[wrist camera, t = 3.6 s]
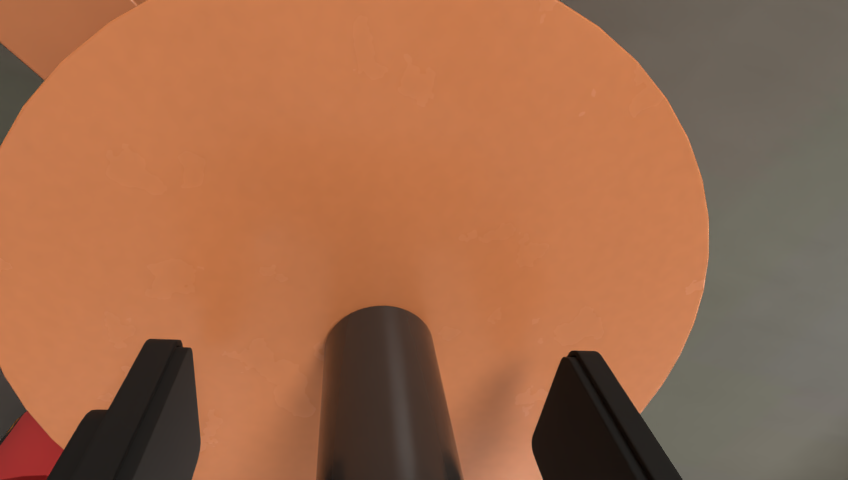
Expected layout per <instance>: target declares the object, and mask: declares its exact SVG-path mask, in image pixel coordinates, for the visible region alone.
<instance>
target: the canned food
mask: <svg viewBox="0 0 848 480" xmlns="http://www.w3.org/2000/svg"><path fill="white" fill-rule="evenodd" d="M62 452H63V449H62V448H61V447H60V446H59V445H58V444H57V443H56V442H54V441H53V440H52V439H51V438H50V437H49V435H48V434H47V433H46V432H45V431H44V430H43V428H42V427H41V426H40V425H39V424H38V423H37V421H36V420H35V419H34V418H33V417H32V416H31V415H30V413H29V412H28V411H27V412H25V413H24V414H23V415H22V416H21V417H19V418H18V419H17V420H16V421H15V423H14V424H13V425H12V427H11V428H10V429H9V431H8V432H7V433H6V435H5V436H4V437H3V439H2V440H1V441H0V480H46V479H47V477H48V476H49V474H50V472H51V471H52V469H53V467H54V466H55V464H56V462H57V460H58V459H59V457H60V455H61V454H62Z"/></svg>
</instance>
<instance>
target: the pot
mask: <svg viewBox="0 0 848 480" xmlns="http://www.w3.org/2000/svg"><path fill="white" fill-rule="evenodd" d="M144 1H146V0H0V43H1V44H3V45H4V46H5V47H6V48H7V49H8V50H10V51H11V52H12V53H13V54H14V55H15V56H17V57H18V58H19V59H20V60H21V61H22V62H23V63H25V64H26V65H27V66H28V67H29V68H30V69H32V70H33V71H34V72H35V73H36V74H37V75H39V76H40V77H41V78H42V79H43V80H44V81H45V80H46V78H47V77H48V76H49V75H50V74H51V72H52V71H53V70H54V69H55V68H56V67H57V65H58V64H59V63H60V62H61V61H62V60H63V59H64V58H65V57H67V56H68V55H69V54H70V53H72V52H73V51H74V50H75V49H76V48H78V47H79V46H80V45H81V44H83V43H84V42H85V41H86V40H87V39H89V38H90V37H91V36H92V35H93V34H95V33H96V32H97V31H98V30H100V29H101V28H102V27H103V26H104V25H106V24H107V23H108V22H109V21H111V20H113V19H114V18H116V17H118V16H120V15H121V14H123V13H125V12H127V11H128V10H130V9H132V8H134V7H136V6H137V5H139V4H141V3H143V2H144Z"/></svg>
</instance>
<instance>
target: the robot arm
mask: <svg viewBox="0 0 848 480" xmlns="http://www.w3.org/2000/svg"><path fill="white" fill-rule="evenodd" d="M200 445H201V437H200V427H199V416H198V405H197V394H196V384H195V373H194V362H193V352H192V349H191V348H190V347H183V344H182V341H181V340H176V339H148V340H146V342H145V343H144V345H143V347H142V349H141V350H140V352H139V354H138V356H137V358H136V359H135V361H134V363H133V365H132V367H131V369H130V370H129V372H128V374H127V376H126V378H125V380H124V381H123V383H122V385H121V387H120V389H119V390H118V392H117V394H116V396H115V398H114V400H113V401H112V403H111V405H110V407H109V409H108V410H103V409H96V410H91V411H90V412H88V413H87V414H86V415H85V416H84V418H83V419H82V420H81V422H80V423H79V425H78V427H77V429H76V430H75V432H74V434H73V435H72V437H71V439H70V440H69V442H68V444H67V445H66V447H65V449H64V450H63V452H62V454H61V455H60V457H59V459H58V460H57V462H56V464H55V466H54V467H53V469H52V471H51V472H50V474H49V476H48V477H47V479H46V480H192V477H193V474H194V471H195V468H196V464H197V461H198V457H199V453H200ZM532 451H533V455H534V457H535V460H536V463H537V465H538V468H539V471H540V473H541V476H542V479H543V480H682V478H681V477H680V475H679V473H678V472H677V470H676V469H675V467H674V466H673V464H672V463H671V461H670V460H669V458H668V457H667V455H666V454H665V452H664V450H663V449H662V447H661V446H660V444H659V443H658V441H657V440H656V438H655V437H654V435H653V434H652V432H651V431H650V429H649V427H648V426H647V424H646V423H645V421H644V420H643V418H642V417H641V415H640V414H639V412H638V411H637V409H636V408H635V406H634V405H633V403H632V401H631V400H630V398H629V397H628V395H627V394H626V392H625V391H624V389H623V388H622V386H621V385H620V383H619V382H618V380H617V378H616V377H615V375H614V374H613V372H612V371H611V369H610V368H609V366H608V365H607V363H606V362H605V360H604V359H603V357H602V356H601V354H600V353H599V352H597V351H577V350H574V351H571V352H569V354H568V355H567V357H563V358H562V359H561V361H560V363H559V366H558V369H557V371H556V374H555V377H554V379H553V382H552V385H551V388H550V390H549V393H548V396H547V398H546V401H545V404H544V406H543V409H542V412H541V414H540V417H539V420H538V423H537V425H536V428H535V431H534V433H533V436H532Z"/></svg>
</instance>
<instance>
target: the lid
mask: <svg viewBox="0 0 848 480" xmlns="http://www.w3.org/2000/svg"><path fill="white" fill-rule="evenodd" d="M708 258H709V216H708V210H707V204H706V198H705V192H704V186H703V180H702V176H701V173H700V171H699V168H698V165H697V162H696V159H695V156H694V153H693V150H692V147H691V144H690V141H689V139H688V137H687V135H686V133H685V131H684V129H683V127H682V126H681V124H680V122H679V120H678V118H677V116H676V115H675V113H674V111H673V109H672V107H671V105H670V104H669V102H668V100H667V98H666V97H665V96H664V95H663V93H662V92H661V91H660V90H659V88H658V87H657V86H656V84H655V83H654V82H653V81H652V79H651V78H650V77H649V76H648V74H647V73H646V72H645V71H644V69H643V68H642V67H641V65H640V64H639V63H638V62H637V61H636V60H635V59H634V58H633V57H632V56H631V55H630V54H629V53H628V52H626V51H625V50H624V49H623V48H622V47H621V46H620V45H619V44H618V43H616V42H615V41H614V40H613V39H612V38H611V37H610V36H609V35H608V34H607V33H605V32H604V31H603V30H602V29H601V28H600V27H599V26H597V25H596V24H594V23H593V22H591V21H590V20H588V19H586V18H585V17H583V16H582V15H580V14H579V13H577V12H576V11H574V10H572V9H571V8H569V7H568V6H566V5H565V4H563V3H562V2H560V1H559V0H146V1H144V2H143V3H141V4H139V5H137V6H136V7H134V8H132V9H130V10H128V11H127V12H125V13H123V14H121V15H120V16H118V17H116V18H114V19H113V20H111V21H109V22H108V23H107V24H106V25H104V26H103V27H102V28H101V29H100V30H98V31H97V32H96V33H95V34H93V35H92V36H91V37H90V38H89V39H87V40H86V41H85V42H84V43H83V44H81V45H80V46H79V47H78V48H76V49H75V50H74V51H73V52H72V53H70V54H69V55H68V56H67V57H65V58H64V59H63V60H62V61H61V62H60V63H59V64H58V65H57V67H56V68H55V69H54V70H53V71H52V72H51V74H50V75H49V76H48V77H47V78H46V80H45V81H44V82H43V83H42V84H41V85H40V87H39V88H38V89H37V90H36V91H35V92H34V94H33V95H32V96H31V97H30V98H29V100H28V101H27V102H26V103H25V104H24V105H23V107H22V109H21V111H20V112H19V114H18V116H17V118H16V119H15V121H14V123H13V125H12V126H11V128H10V130H9V132H8V133H7V135H6V137H5V139H4V141H3V142H2V144H1V146H0V368H1V370H2V372H3V374H4V376H5V378H6V379H7V381H8V382H9V384H10V385H11V387H12V389H13V390H14V392H15V393H16V395H17V396H18V398H19V399H20V401H21V403H22V404H23V406H24V407H25V409H26V410H27V411H28V412H29V413H30V415H31V416H32V417H33V418H34V419H35V420H36V421H37V423H38V424H39V425H40V426H41V427H42V428H43V430H44V431H45V432H46V433H47V434H48V435H49V437H50V438H51V439H52V440H53V441H54V442H56V443H57V444H58V445H59V446H60V447H61V448H62V449H63V450H64V449H65V447H66V445H67V444H68V442H69V440H70V439H71V437H72V435H73V434H74V432H75V430H76V429H77V427H78V425H79V423H80V422H81V420H82V419H83V418H84V416H85V415H86V414H87V413H88V412H90V411H91V410H96V409H103V410H108V409H109V407H110V405H111V403H112V401H113V400H114V398H115V396H116V394H117V392H118V390H119V389H120V387H121V385H122V383H123V381H124V380H125V378H126V376H127V374H128V372H129V370H130V369H131V367H132V365H133V363H134V361H135V359H136V358H137V356H138V354H139V352H140V350H141V349H142V347H143V345H144V343H145V342H146V340H148V339H176V340H181V341H182V344H183V347H190V348H191V349H192V352H193V362H194V373H195V384H196V394H197V405H198V416H199V427H200V437H201V445H200V453H199V457H198V461H197V464H196V468H195V471H194V474H193V477H192V480H543V479H542V476H541V473H540V471H539V468H538V465H537V463H536V460H535V457H534V455H533V451H532V436H533V433H534V431H535V428H536V425H537V423H538V420H539V417H540V414H541V412H542V409H543V406H544V404H545V401H546V398H547V396H548V393H549V390H550V388H551V385H552V382H553V379H554V377H555V374H556V371H557V369H558V366H559V363H560V361H561V359H562V358H563V357H567V355H568V354H569V352H571V351H574V350H577V351H597V352H599V353H600V354H601V356H602V357H603V359H604V360H605V362H606V363H607V365H608V366H609V368H610V369H611V371H612V372H613V374H614V375H615V377H616V378H617V380H618V382H619V383H620V385H621V386H622V388H623V389H624V391H625V392H626V394H627V395H628V397H629V398H630V400H631V401H632V403H633V405H634V406H635V408H636V409H637V411H638V412H639V414H640V413H641V412H642V411H643V410H644V408H645V407H646V406H647V404H648V403H649V402H650V400H651V399H652V398H653V396H654V395H655V394H656V392H657V391H658V390H659V389H660V387H661V386H662V385H663V383H664V381H665V380H666V378H667V376H668V375H669V373H670V371H671V370H672V368H673V366H674V365H675V363H676V361H677V360H678V358H679V356H680V354H681V352H682V350H683V347H684V345H685V343H686V341H687V338H688V336H689V334H690V332H691V329H692V327H693V325H694V322H695V318H696V315H697V312H698V308H699V305H700V301H701V298H702V295H703V291H704V285H705V278H706V271H707V265H708Z"/></svg>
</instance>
